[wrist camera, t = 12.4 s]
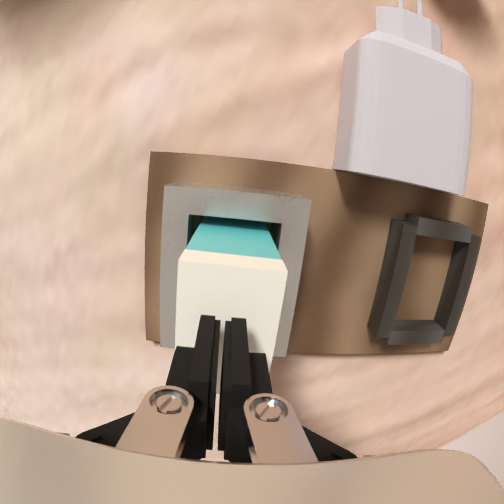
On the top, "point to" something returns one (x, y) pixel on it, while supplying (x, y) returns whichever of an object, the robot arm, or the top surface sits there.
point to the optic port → (238, 207)
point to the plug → (231, 283)
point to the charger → (405, 105)
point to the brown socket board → (347, 253)
